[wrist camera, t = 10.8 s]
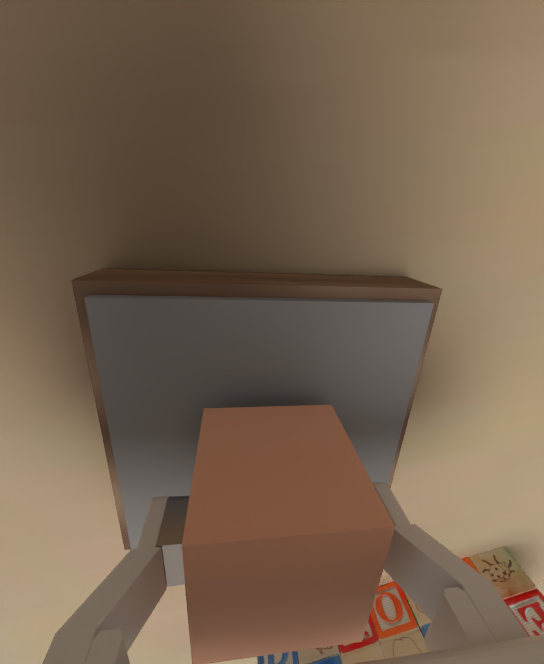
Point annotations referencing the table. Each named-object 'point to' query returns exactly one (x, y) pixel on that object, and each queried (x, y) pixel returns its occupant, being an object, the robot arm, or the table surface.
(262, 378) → the walnut framed mirror
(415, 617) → the stack of blocks
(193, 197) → the table surface
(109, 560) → the table surface
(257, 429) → the terracotta cube
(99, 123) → the table surface
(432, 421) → the table surface
